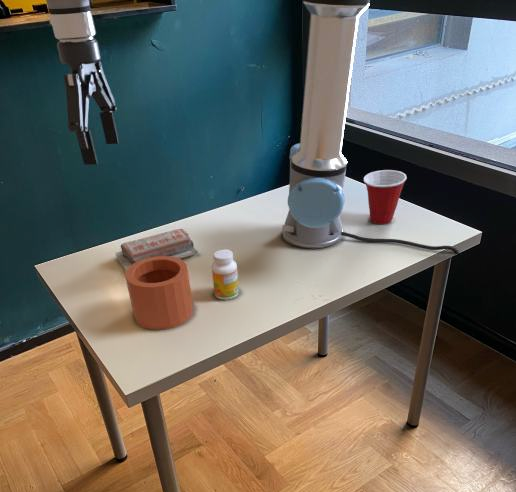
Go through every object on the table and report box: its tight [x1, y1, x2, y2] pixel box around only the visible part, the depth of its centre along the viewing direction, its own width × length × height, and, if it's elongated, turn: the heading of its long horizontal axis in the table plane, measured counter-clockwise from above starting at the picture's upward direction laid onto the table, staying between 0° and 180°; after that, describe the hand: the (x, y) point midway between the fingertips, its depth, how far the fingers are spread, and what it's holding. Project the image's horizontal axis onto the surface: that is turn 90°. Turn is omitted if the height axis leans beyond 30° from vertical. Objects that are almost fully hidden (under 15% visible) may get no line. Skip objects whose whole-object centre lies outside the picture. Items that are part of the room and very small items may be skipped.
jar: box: [124, 256, 194, 331], centre depth 104 cm, size 12×12×10 cm
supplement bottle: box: [211, 249, 240, 301], centre depth 109 cm, size 5×5×10 cm
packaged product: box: [114, 228, 199, 272], centre depth 125 cm, size 18×5×10 cm
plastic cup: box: [363, 169, 408, 225], centre depth 135 cm, size 11×11×12 cm
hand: (102, 153), depth 110 cm, fingers open, 13 cm apart
